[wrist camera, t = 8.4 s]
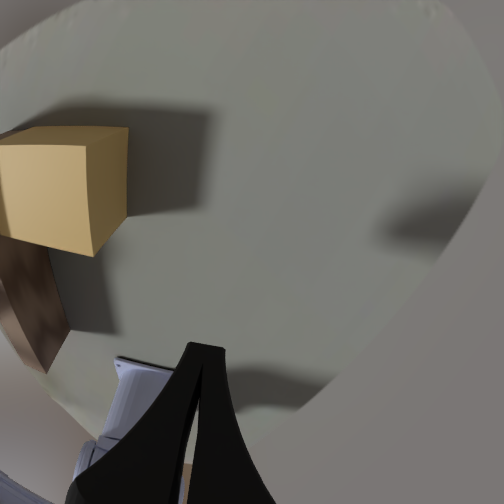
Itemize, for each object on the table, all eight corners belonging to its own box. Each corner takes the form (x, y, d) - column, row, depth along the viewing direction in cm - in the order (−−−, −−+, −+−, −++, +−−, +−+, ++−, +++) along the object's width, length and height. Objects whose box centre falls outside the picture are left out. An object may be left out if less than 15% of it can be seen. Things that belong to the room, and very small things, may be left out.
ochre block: (128, 215, 18) (93, 257, 14) (40, 202, 18) (0, 234, 13) (130, 126, 15) (85, 146, 11) (35, 126, 14) (-14, 146, 10)
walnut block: (70, 330, 25) (46, 374, 20) (49, 322, 25) (24, 363, 20) (33, 129, 14) (-28, 156, 9) (8, 130, 14) (-49, 157, 9)
